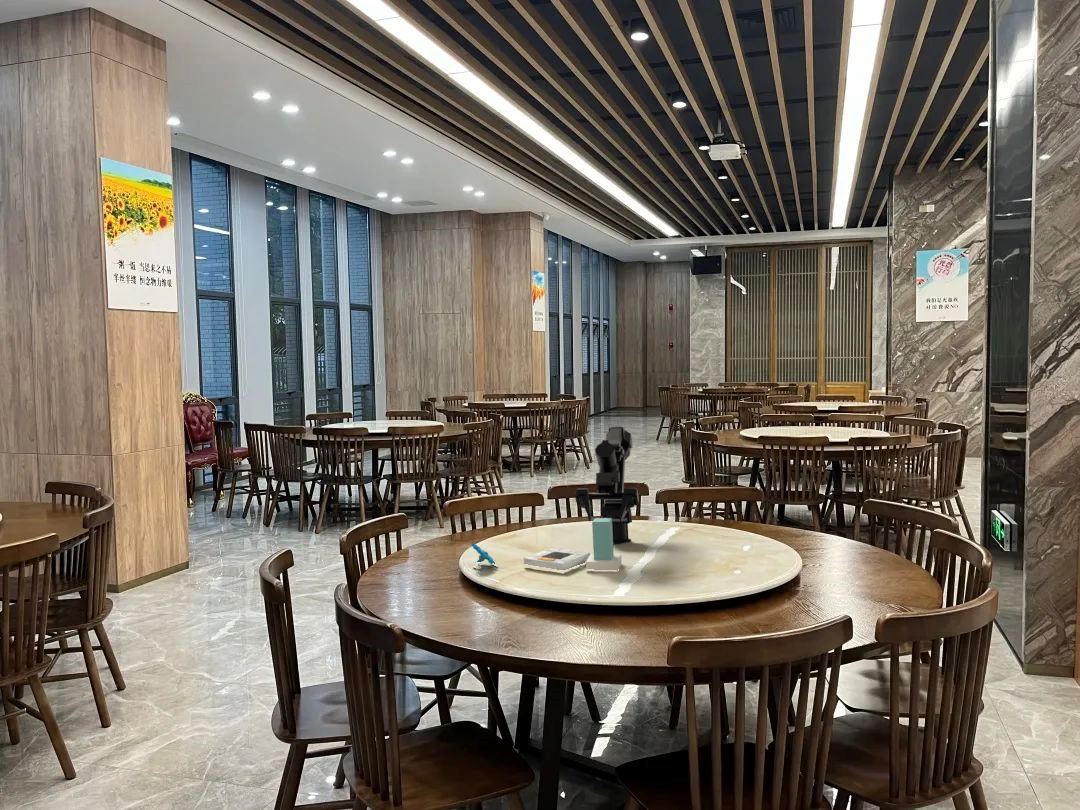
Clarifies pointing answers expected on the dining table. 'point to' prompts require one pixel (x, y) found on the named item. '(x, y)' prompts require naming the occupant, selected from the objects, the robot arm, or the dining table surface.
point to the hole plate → (557, 558)
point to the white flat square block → (604, 563)
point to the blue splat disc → (482, 554)
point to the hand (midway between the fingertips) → (605, 520)
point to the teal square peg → (602, 538)
